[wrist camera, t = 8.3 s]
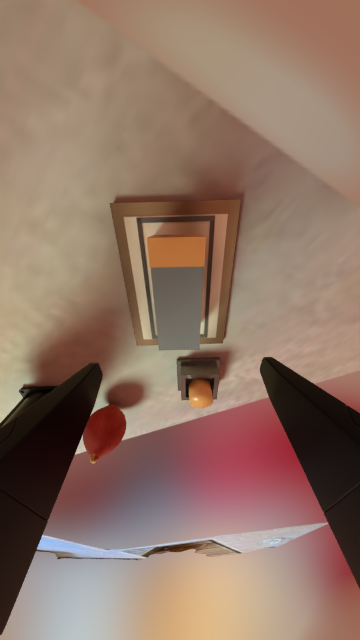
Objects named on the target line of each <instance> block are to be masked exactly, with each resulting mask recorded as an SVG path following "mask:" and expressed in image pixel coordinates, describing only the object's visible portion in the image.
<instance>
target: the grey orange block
mask: <svg viewBox="0 0 360 640" xmlns="http://www.w3.org/2000/svg"><path fill="white" fill-rule="evenodd" d="M147 246H148V256H149V265H150V268H151V277H152V287H153V297H154V307H155V316H156V326H157V336H158V346H159V350H194V349H199V346H200V327H201V308H202V288H203V269H204V264H205V246H206V237H205V236H203V235H201V234H174V235H153V236H150V237H148V238H147Z"/></svg>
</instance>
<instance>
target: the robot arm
mask: <svg viewBox="0 0 360 640" xmlns="http://www.w3.org/2000/svg"><path fill="white" fill-rule="evenodd" d="M260 373H261V376H262V378H263V381H264V384H265V387H266V390H267V393H268V395H269V398H270V400H271V402H272V405H273V407H274V409H275V411H276V413H277V415H278V418H279V419H280V422H281V424H282V426H283V428H284V430H285V432H286V434H287V436H288V439H289V441H290V443H291V445H292V447H293V449H294V451H295V453H296V455H297V457H298V459H299V461H300V464H301V466H302V468H303V470H304V472H305V474H306V476H307V479H308V481H309V483H310V485H311V487H312V489H313V491H314V493H315V495H316V497H317V500H318V502H319V504H320V506H321V508H322V510H323V512H324V515H325V517H326V519H327V521H328V523H329V525H330V527H331V529H332V531H333V534H334V536H335V538H336V540H337V542H338V544H339V546H340V548H341V551H342V552H343V555H344V557H345V559H346V561H347V563H348V565H349V567H350V570H351V572H352V574H353V576H354V578H355V580H356V582H357V584H358V586H359V588H360V413H359V412H357V411H356V410H354V409H352V408H351V407H349V406H346V404H344V403H343V402H341V401H340V400H338V399H337V398H335V397H333V396H332V395H330V394H329V393H327V392H326V391H324V390H322V389H321V388H319V387H318V386H316V385H315V384H313V383H312V382H310V381H308V380H307V379H305V378H304V377H302V376H301V375H299V374H297V373H296V372H294V371H293V370H291V369H290V368H288V367H286V366H285V365H283V364H282V363H280V362H279V361H277V360H275V359H274V358H272V357H264V358H263V359H262V363H261V366H260ZM102 376H103V374H102V371H101V368H100V365H99V364H98V363H90V364H88V365H87V366H85V367H84V368H83V369H81V370H80V371H79V372H77V373H76V374H74V375H73V376H72V377H70V378H69V379H67V380H66V381H65V382H63V383H62V384H61V385H59V386H58V387H24V388H21V389H20V390H19V392H20V394H21V395H22V396H23V399H22V400H21V401H20V402H19V403H18V404H17V405H16V407H15V408H14V409H13V410H12V411H11V412H10V413H9V414H8V415H7V417H6V418H5V419H4V420H3V421H2V422H1V423H0V635H1V634H2V632H3V630H4V628H5V626H6V624H7V621H8V619H9V616H10V614H11V611H12V609H13V607H14V604H15V602H16V599H17V597H18V594H19V592H20V589H21V587H22V584H23V582H24V579H25V577H26V574H27V572H28V569H29V567H30V564H31V562H32V559H33V557H34V554H35V552H36V549H37V547H38V544H39V542H40V539H41V537H42V535H43V532H44V529H45V527H46V525H47V522H48V521H47V520H48V519H49V517H50V514H51V512H52V509H53V507H54V504H55V502H56V499H57V497H58V494H59V492H60V489H61V487H62V484H63V482H64V479H65V477H66V474H67V472H68V469H69V467H70V464H71V462H72V460H73V457H74V455H75V452H76V450H77V447H78V445H79V442H80V440H81V437H82V435H83V432H84V430H85V427H86V425H87V422H88V420H89V417H90V415H91V412H92V410H93V407H94V405H95V401H96V398H97V395H98V391H99V388H100V384H101V381H102Z"/></svg>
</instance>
